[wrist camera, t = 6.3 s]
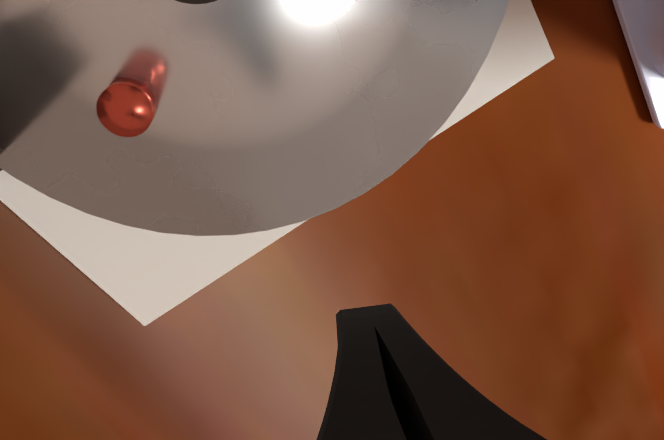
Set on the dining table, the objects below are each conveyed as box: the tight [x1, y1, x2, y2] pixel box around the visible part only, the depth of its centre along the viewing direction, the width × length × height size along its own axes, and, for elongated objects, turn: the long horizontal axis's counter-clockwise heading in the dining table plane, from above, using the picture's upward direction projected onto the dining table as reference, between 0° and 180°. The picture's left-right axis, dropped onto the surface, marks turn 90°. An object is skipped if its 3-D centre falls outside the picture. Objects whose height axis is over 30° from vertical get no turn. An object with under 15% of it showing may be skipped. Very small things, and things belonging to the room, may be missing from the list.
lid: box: [0, 0, 509, 236], centre depth 11 cm, size 22×14×2 cm, turn 121°
